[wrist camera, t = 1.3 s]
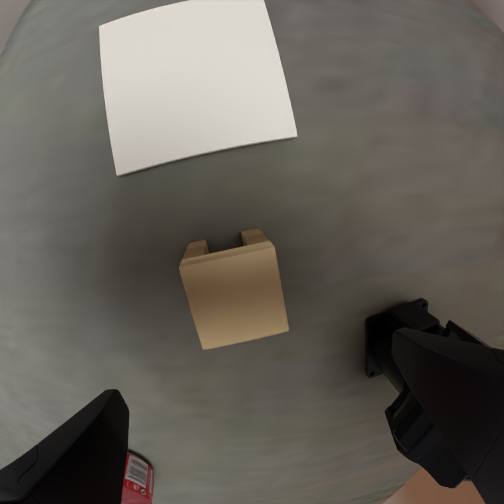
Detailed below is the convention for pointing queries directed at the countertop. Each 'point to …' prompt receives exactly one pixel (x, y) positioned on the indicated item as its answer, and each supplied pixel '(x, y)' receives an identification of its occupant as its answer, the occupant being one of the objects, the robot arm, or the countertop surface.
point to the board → (192, 82)
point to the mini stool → (234, 291)
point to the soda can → (137, 481)
